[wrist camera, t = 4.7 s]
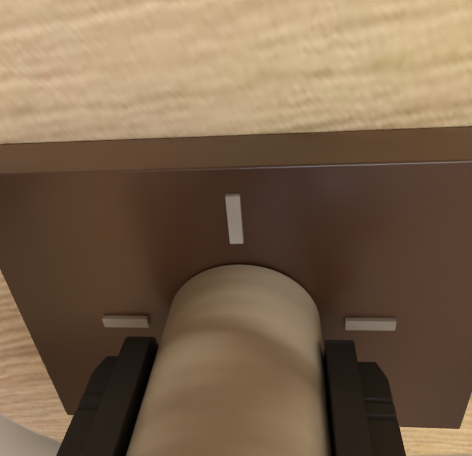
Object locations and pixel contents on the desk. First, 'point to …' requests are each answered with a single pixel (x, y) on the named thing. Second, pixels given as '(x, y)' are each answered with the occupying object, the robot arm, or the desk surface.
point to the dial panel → (251, 245)
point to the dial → (237, 371)
